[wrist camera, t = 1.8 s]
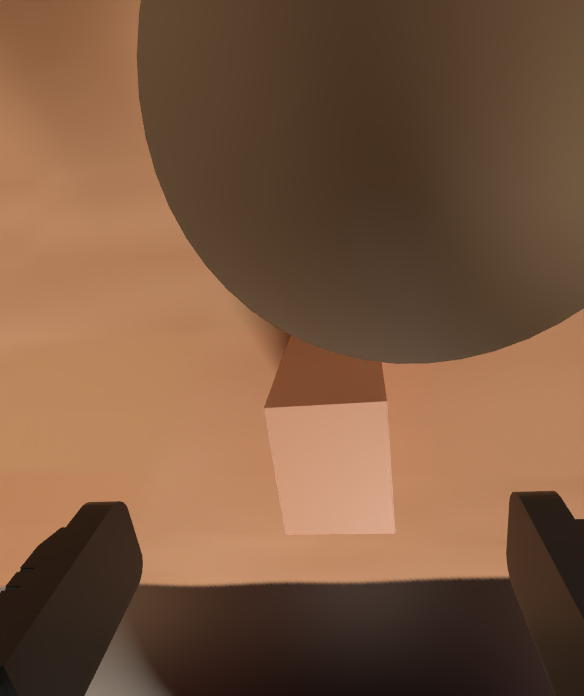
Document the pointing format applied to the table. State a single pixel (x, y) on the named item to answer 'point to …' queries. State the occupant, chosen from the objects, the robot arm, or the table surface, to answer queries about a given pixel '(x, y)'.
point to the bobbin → (376, 164)
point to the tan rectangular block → (330, 443)
